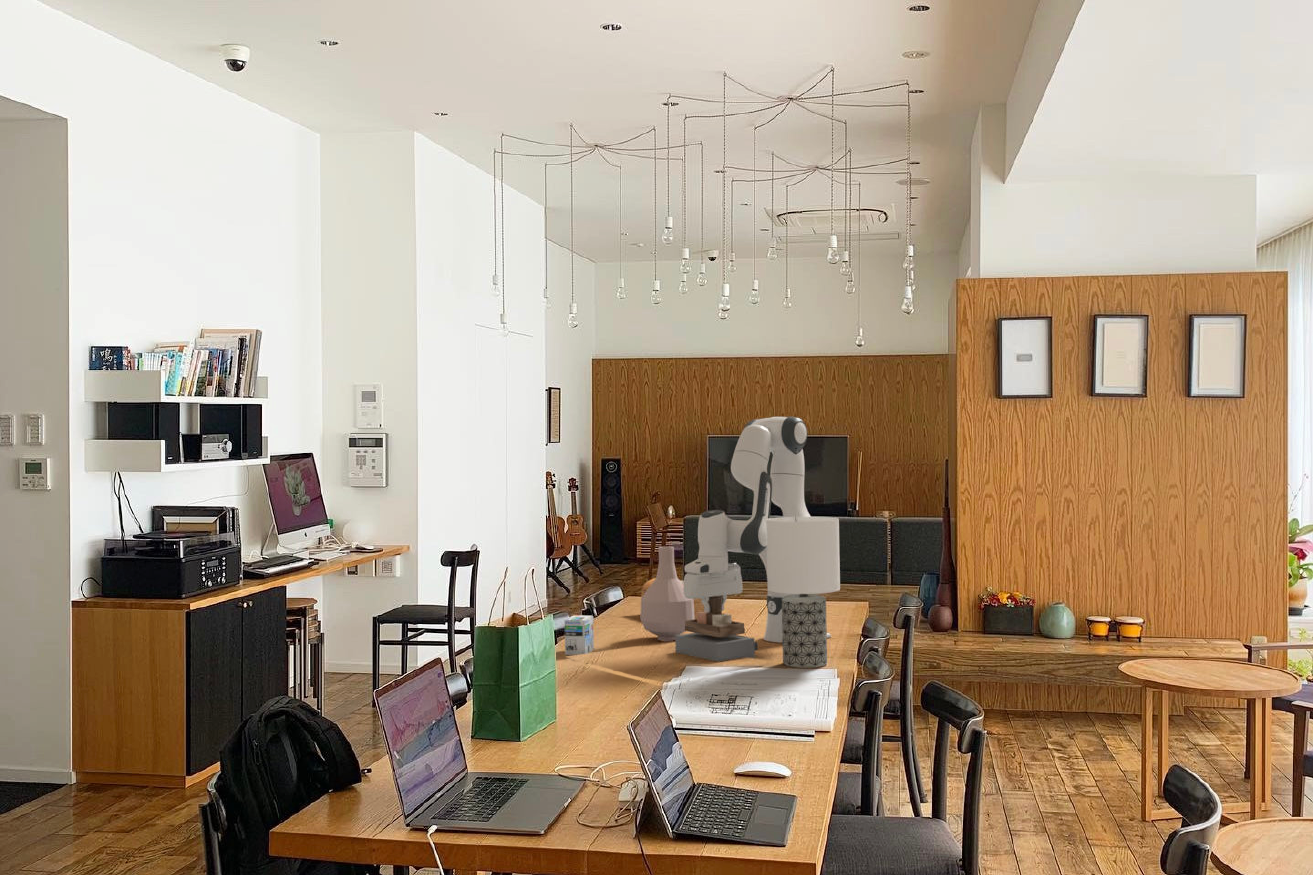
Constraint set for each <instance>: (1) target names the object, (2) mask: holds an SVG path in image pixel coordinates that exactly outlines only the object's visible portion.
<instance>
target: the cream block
mask: <svg viewBox="0 0 1313 875" xmlns="http://www.w3.org/2000/svg"><path fill="white" fill-rule="evenodd" d="M712 622H713V626H718V627H719V626H726V625H732V614H729V613H727V614H726V613H722V614H716V615H712Z"/></svg>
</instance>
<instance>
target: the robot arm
mask: <svg viewBox="0 0 1313 875" xmlns="http://www.w3.org/2000/svg"><path fill="white" fill-rule="evenodd" d="M807 439H808V428H807V425H806V423H805V421H803V419H802V418H800V417H796V416H772V417H765V418H760V419H759V418H756V419H752V420H749V421H748V422H746V424H745V425H744V427H743V430H742V432H741V433H740V436H739V437H738V440H737V443H736V445H735V448H734V451H733V454H732V455H733V456H732V459H731V463H730V472H731V475H732V476H733V478H734V479H735V480H736V481H737V482H738V483H739V484H740V485H742V486H743V487H744V488H745V487H746V488H748V489H750V490H752V492H753V505H752V512H751V513H752V514H751V517H750V519H747V520H740V519H739V520H736V519H732V518H730V517H728V516H727V515H726V513H725V511H724V510H721V509H712V510H707V511H703V512H702V513H700V516H699V518H698V527H697V543H698V546H699V549H698V553H697V554H698V555H697V556H698V557H697V559H695V560H693V561H692V562H690V563H688V564H686V565H685V566H684V572H685V573H686V574H685V575H684V578H683V581H684V596H685V597H686V598H688V599H699V598H701V602H702V604H703V605H704V611H705V612H707V613H708V612H712V606H709V604H708V601H709V597H715V596H719V597H721V598H722V612H723V611H724V610H725V605H726V602H727V598H728V595H729V596H730V595H735V594H736V595H737V594H741V593H742V592H743V587H744V586H743V577H742V572H741V569H742V568H741V566H740V565H739V564H737V562H732V563H729V553H728V552H733V553H743V554H750V555H758V556H759V557H760V559H761V561H762V563H763V565H764V568H765V571H766V573H767V529H766V519H769V518H771V508H772V507H771V505H772V503H773V504H774V505H775V506H777V507H779V508H780V509H781V511H782V516H783V517H812V516H811V514H810V513H809V511H808V508H807V506H806V502H805V501H806V500H805V474H806V473H805V470H806V469H805V467H806V466H805V456H804V450H803V448H804V446H805V444H806V443H807ZM771 453H772V459H771V463H770V474H769V473H768V464H769V459H770V456H771ZM786 595H791V594H788V593H777V592H772V591H769V590H768V589H767V595H766V608H767V616H766V617H767V618H766V623H765V624H766V625H765V632H764V636H763V640H765V641H767V642H772V643H782V644H783V636H782V598H783V597H785V596H786ZM831 634H832V633H829V632H827V639H828V638H831V637H832V635H831Z"/></svg>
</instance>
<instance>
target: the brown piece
mask: <svg viewBox="0 0 1313 875" xmlns="http://www.w3.org/2000/svg"><path fill="white" fill-rule="evenodd" d="M708 604H709V606H712V612H708V613H707V624H702V623H697V619H694V620H687V621H685V632H690V633H699V634H704V635H709V636H714V637H725V636H731V635H743V634H746V630H745V623H744V622H740V621H734V620H733V621H732V625H726V626H719V627H718V626H713V622H712V615H716V614H723V611H722V598H721V597H719V596H715V597H709V601H708Z"/></svg>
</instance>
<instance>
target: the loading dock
mask: <svg viewBox="0 0 1313 875" xmlns="http://www.w3.org/2000/svg"><path fill="white" fill-rule="evenodd" d="M675 637H676V640H675V653H677V654H683V655H687V656H691V657H695V658H700V659H705V660H709V661H713V662H717V663H718V662H724V661H729V660H736V659H737V660H738V659H742V658H743V659H744V658H749V659H755V658H756V656H755V655H756V653H755V652H756V651H758V650H759V649H758V647H759V646H758V645H759V644H758V641H755V637H751V636H750V637H749V636H743V635H740V634H738V635H731V636H725V637H714V636H709V635H704V634H699V633H694V632H690V633H682V634H680V635H675Z"/></svg>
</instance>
